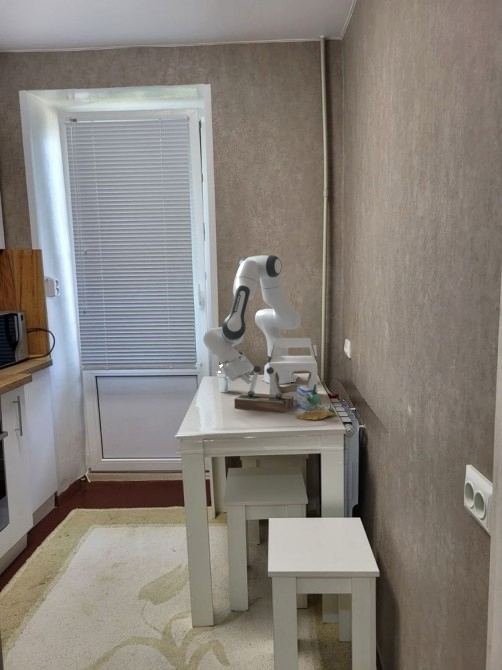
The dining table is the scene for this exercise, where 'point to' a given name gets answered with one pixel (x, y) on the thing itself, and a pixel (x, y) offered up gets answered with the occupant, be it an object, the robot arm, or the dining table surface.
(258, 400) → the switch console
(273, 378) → the lever
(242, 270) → the robot arm
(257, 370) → the lever
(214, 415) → the dining table surface
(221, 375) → the cup with straw
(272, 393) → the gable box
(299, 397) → the medicine box
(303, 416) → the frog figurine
